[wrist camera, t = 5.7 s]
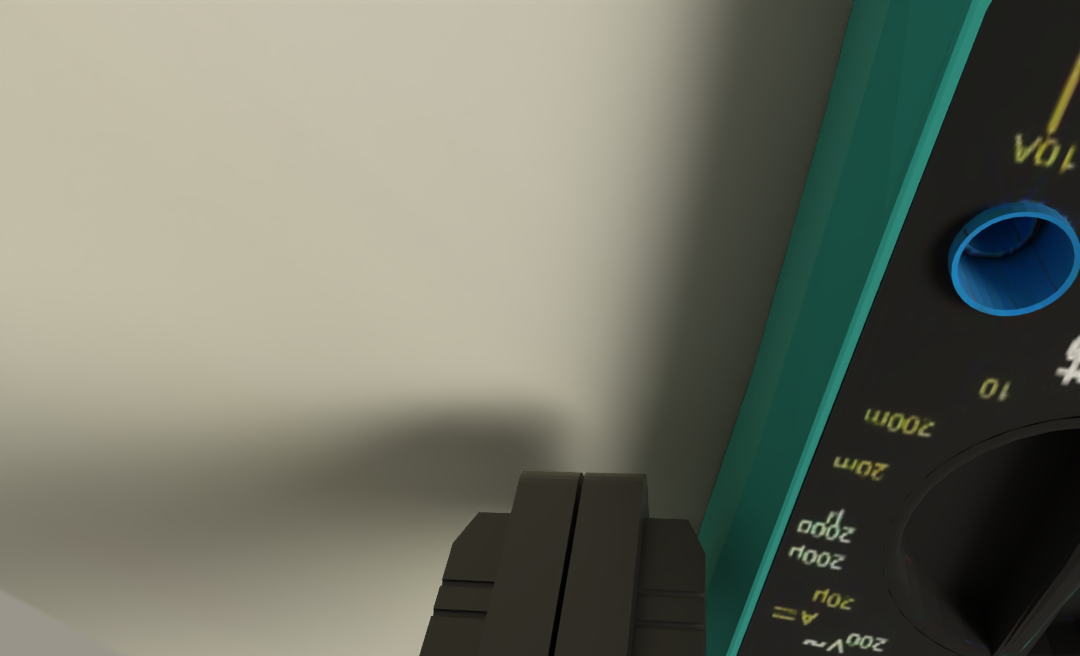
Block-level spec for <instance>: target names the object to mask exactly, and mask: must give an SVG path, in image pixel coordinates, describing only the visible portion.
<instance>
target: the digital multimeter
mask: <svg viewBox="0 0 1080 656" xmlns="http://www.w3.org/2000/svg"><path fill="white" fill-rule="evenodd" d="M987 8H988V9H987ZM986 10H987V12H986ZM985 12H986V14H985ZM984 15H985V17H984ZM983 18H984V20H983ZM982 20H983V22H982ZM981 23H982V25H981ZM980 25H981V27H980ZM979 28H980V30H979ZM978 30H979V33H978ZM977 33H978V35H977ZM976 36H977V38H976ZM975 38H976V40H975ZM974 41H975V43H974ZM973 43H974V45H973ZM972 46H973V48H972ZM971 48H972V51H971ZM970 51H971V53H970ZM969 54H970V56H969ZM968 56H969V58H968ZM967 59H968V61H967ZM966 61H967V64H966ZM965 64H966V66H965ZM964 66H965V69H964ZM963 69H964V71H963ZM962 72H963V74H962ZM961 74H962V77H961ZM960 77H961V79H960ZM959 79H960V82H959ZM958 82H959V84H958ZM957 85H958V87H957ZM956 87H957V89H956ZM955 90H956V92H955ZM954 92H955V95H954ZM953 95H954V97H953ZM952 97H953V100H952ZM951 100H952V102H951ZM950 103H951V105H950ZM949 105H950V108H949ZM948 108H949V110H948ZM947 110H948V113H947ZM946 113H947V115H946ZM945 115H946V118H945ZM944 118H945V120H944ZM943 121H944V123H943ZM942 123H943V126H942ZM941 126H942V128H941ZM940 128H941V131H940ZM939 131H940V133H939ZM938 133H939V136H938ZM937 136H938V139H937ZM936 139H937V141H936ZM935 141H936V144H935ZM934 144H935V146H934ZM933 146H934V149H933ZM932 149H933V152H932V154H931V151H932ZM930 154H931V157H930ZM929 157H930V159H929ZM928 159H929V162H928ZM927 162H928V164H927ZM926 164H927V167H926ZM925 167H926V170H925V172H924V169H925ZM923 172H924V175H923ZM922 175H923V177H922ZM921 177H922V180H921ZM920 180H921V183H920V185H919V182H920ZM918 185H919V188H918ZM917 188H918V190H917ZM916 190H917V193H916ZM915 193H916V196H915V198H914V195H915ZM913 198H914V201H913V203H912V200H913ZM911 203H912V206H911ZM910 206H911V208H910ZM909 208H910V211H909ZM908 211H909V214H908V216H907V213H908ZM906 216H907V219H906V221H905V218H906ZM904 221H905V224H904ZM903 224H904V227H903V229H902V226H903ZM901 229H902V232H901V234H900V231H901ZM899 234H900V237H899V240H898V242H897V239H898V236H899ZM896 242H897V245H896V247H895V244H896ZM894 247H895V250H894V252H893V249H894ZM892 252H893V255H892ZM891 255H892V258H891V260H890V257H891ZM889 260H890V263H889V265H888V262H889ZM887 265H888V268H887ZM886 268H887V271H886V273H885V270H886ZM884 273H885V276H884ZM883 276H884V278H883ZM882 278H883V281H882ZM881 281H882V283H881ZM880 283H881V286H880ZM879 286H880V289H879ZM878 289H879V291H878ZM877 291H878V294H877ZM876 294H877V296H876ZM875 296H876V299H875ZM874 299H875V302H874ZM873 302H874V304H873ZM872 304H873V307H872ZM871 307H872V309H871ZM870 309H871V312H870ZM869 312H870V315H869ZM868 315H869V317H868ZM867 317H868V320H867ZM866 320H867V322H866ZM865 322H866V325H865ZM864 325H865V327H864ZM863 328H864V330H863ZM862 330H863V333H862ZM861 333H862V335H861ZM860 335H861V338H860ZM859 338H860V340H859ZM858 341H859V343H858ZM857 343H858V346H857ZM856 346H857V348H856ZM855 349H856V351H855ZM854 351H855V353H854ZM853 354H854V356H853ZM852 356H853V359H852ZM851 359H852V361H851ZM850 362H851V364H850ZM849 364H850V366H849ZM848 367H849V369H848ZM847 369H848V371H847ZM846 372H847V374H846ZM845 375H846V377H845ZM844 377H845V379H844ZM843 380H844V382H843ZM842 382H843V384H842ZM841 385H842V387H841ZM840 388H841V390H840ZM839 390H840V392H839ZM838 393H839V395H838ZM837 395H838V397H837ZM836 398H837V400H836ZM835 401H836V403H835ZM834 403H835V405H834ZM833 406H834V408H833ZM832 408H833V410H832ZM831 411H832V413H831ZM830 414H831V415H830ZM829 416H830V418H829ZM828 419H829V421H828ZM827 421H828V423H827ZM826 424H827V426H826ZM825 427H826V428H825ZM824 429H825V431H824ZM823 432H824V434H823ZM822 435H823V436H822ZM821 437H822V439H821ZM820 440H821V441H820ZM819 442H820V444H819ZM818 445H819V446H818ZM817 448H818V449H817ZM816 450H817V452H816ZM815 453H816V454H815ZM814 455H815V457H814ZM813 458H814V459H813ZM812 461H813V462H812ZM811 463H812V465H811ZM810 466H811V467H810ZM809 468H810V470H809ZM808 471H809V472H808ZM807 474H808V475H807ZM806 476H807V478H806ZM805 479H806V480H805ZM804 481H805V483H804ZM803 484H804V485H803ZM802 487H803V488H802ZM801 489H802V490H801ZM800 492H801V493H800ZM799 494H800V496H799ZM798 497H799V498H798ZM797 500H798V501H797ZM796 502H797V503H796ZM795 505H796V506H795ZM794 507H795V509H794ZM793 510H794V511H793ZM792 512H793V514H792ZM791 515H792V516H791ZM790 518H791V519H790ZM892 519H893V520H892ZM789 520H790V522H789ZM891 521H892V522H891ZM788 523H789V524H788ZM787 525H788V527H787ZM786 528H787V529H786ZM785 531H786V532H785ZM784 533H785V534H784ZM783 536H784V537H783ZM697 538H698V540H699V542H700V544H701V546H702V548H703V550H704V552H705V554H706V656H737V655H738V656H961V655H963V656H1080V0H854V1H853V5H852V9H851V13H850V17H849V21H848V24H847V28H846V32H845V36H844V40H843V44H842V48H841V52H840V56H839V60H838V64H837V68H836V72H835V76H834V80H833V83H832V87H831V91H830V95H829V99H828V103H827V107H826V111H825V115H824V119H823V123H822V126H821V130H820V133H819V137H818V140H817V144H816V148H815V151H814V155H813V158H812V162H811V165H810V169H809V173H808V176H807V180H806V183H805V187H804V190H803V194H802V198H801V201H800V205H799V208H798V212H797V215H796V219H795V223H794V226H793V230H792V233H791V237H790V240H789V244H788V248H787V251H786V255H785V258H784V262H783V265H782V269H781V273H780V276H779V280H778V283H777V287H776V290H775V294H774V298H773V301H772V305H771V308H770V312H769V315H768V319H767V323H766V326H765V330H764V333H763V337H762V340H761V344H760V348H759V351H758V355H757V358H756V362H755V365H754V369H753V373H752V376H751V379H750V382H749V385H748V388H747V391H746V394H745V396H744V399H743V402H742V405H741V408H740V411H739V414H738V417H737V420H736V423H735V426H734V429H733V432H732V435H731V438H730V441H729V444H728V447H727V450H726V453H725V456H724V459H723V462H722V465H721V468H720V471H719V474H718V477H717V480H716V483H715V486H714V489H713V492H712V495H711V498H710V501H709V504H708V507H707V510H706V513H705V516H704V519H703V522H702V525H701V528H700V531H699V534H698V537H697ZM782 538H783V540H782ZM781 541H782V542H781ZM884 543H885V544H884ZM780 544H781V545H780ZM779 546H780V547H779ZM883 547H884V550H883ZM778 549H779V550H778ZM777 551H778V553H777ZM776 554H777V555H776ZM775 556H776V558H775ZM774 559H775V560H774ZM773 562H774V563H773ZM772 564H773V566H772ZM771 567H772V568H771ZM770 569H771V571H770ZM883 569H884V572H883ZM769 572H770V573H769ZM768 575H769V576H768ZM767 577H768V578H767ZM766 580H767V581H766ZM765 582H766V584H765ZM764 585H765V586H764ZM763 587H764V589H763ZM888 589H889V591H888ZM762 590H763V591H762ZM889 592H890V594H891V595H890V594H889ZM761 593H762V594H761ZM760 595H761V597H760ZM891 596H892V597H891ZM759 598H760V599H759ZM758 600H759V602H758ZM757 603H758V604H757ZM756 606H757V607H756ZM755 608H756V609H755ZM898 608H899V609H900V610H899V609H898ZM754 611H755V612H754ZM900 611H901V612H902V613H903V614H904V616H905V617H906V618H907V619H908V620H907V619H906V618H905V617H904V616H903V615H902V614H901V612H900ZM753 613H754V615H753ZM752 616H753V617H752ZM751 618H752V620H751ZM750 621H751V622H750ZM749 624H750V625H749ZM748 626H749V628H748ZM914 626H915V627H916V628H917V629H918V630H920V631H921V632H922V633H923V634H925V635H926V636H927V637H926V636H925V635H923V634H922V633H920V632H919V631H918V630H917V629H916V628H915V627H914ZM747 629H748V630H747ZM746 631H747V633H746ZM745 634H746V635H745ZM744 637H745V638H744ZM929 638H930V639H929ZM743 639H744V641H743ZM932 640H933V641H932ZM742 642H743V643H742ZM935 642H936V643H935ZM937 643H938V644H940V645H942V646H944V647H946V648H948V649H949V650H951V651H949V650H947V649H945V648H943V647H941V646H940V645H938V644H937ZM741 644H742V646H741ZM740 647H741V648H740ZM739 650H740V651H739ZM952 651H953V652H952ZM738 652H739V653H738ZM954 652H955V653H954ZM956 653H957V654H956ZM958 654H960V655H958Z"/></svg>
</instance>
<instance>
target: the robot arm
mask: <svg viewBox="0 0 1080 656" xmlns="http://www.w3.org/2000/svg"><path fill="white" fill-rule="evenodd" d="M433 609H434V613H433V616H431V618H430V622H429V625H428V629H427V632H426V635H425V639H424V642H423V645H422V649H421V652H420V655H419V656H706V554H705V552H704V550H703V548H702V546H701V544H700V542H699V540H698V538H697V536H696V534H695V532H694V530H693V528H692V526H691V524H690V522H689V520H678V519H652V518H649V511H648V491H647V478H646V475H645V474H618V473H586V474H585V476H584V475H583V473H576V472H543V471H523V472H522V474H521V476H520V479H519V483H518V487H517V491H516V495H515V499H514V504H513V508H512V512H511V513H485V512H479V513H478V514H477V515H476V516H475V518H474V519H473V520H472V521H471V522H470V523H469V525H468V526H467V527H466V528H465V529H464V531H463V532H462V533H461V534H460V535H459V536H458V538H457V539H456V540H455V541H454V542H453V545H452V548H451V551H450V555H449V558H448V561H447V565H446V568H445V571H444V575H443V578H442V586H440V588H439V592H438V595H437V598H436V602H435V605H434V608H433Z"/></svg>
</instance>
